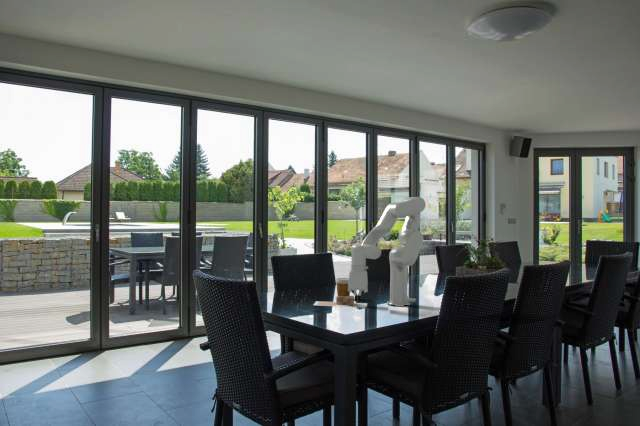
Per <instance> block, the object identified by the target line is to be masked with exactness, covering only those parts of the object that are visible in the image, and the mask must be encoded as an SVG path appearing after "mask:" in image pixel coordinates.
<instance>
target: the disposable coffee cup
mask: <svg viewBox="0 0 640 426" xmlns="http://www.w3.org/2000/svg"><path fill="white" fill-rule="evenodd" d="M348 282H349V277H347V278H346V277H339V278H336V280H335V283H336V292H337V293H336V294H337V296H345V297H348V296H351V295H350V294H351V292H349V291H348Z"/></svg>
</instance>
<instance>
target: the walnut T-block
mask: <svg viewBox="0 0 640 426" xmlns="http://www.w3.org/2000/svg"><path fill="white" fill-rule="evenodd" d="M335 300H336V301H335V302H336V305H347V306H353V305H354V303H355V295H350V296H348V297H345V296H338V295H337V296H336V299H335Z"/></svg>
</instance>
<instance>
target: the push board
mask: <svg viewBox="0 0 640 426" xmlns="http://www.w3.org/2000/svg"><path fill="white" fill-rule="evenodd" d="M313 306H318V307H319V306H321V307H322V306H323V307H341V308H342V307H344V308H345V307H348V308H367V307H368V303H367V302H366V303H365V302H364V303H362V302H359V303H358V302H357V303H356V302H354V305H353V306H347V305H336V301H317V300H315V302H314V303H313Z"/></svg>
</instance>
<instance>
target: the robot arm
mask: <svg viewBox="0 0 640 426" xmlns="http://www.w3.org/2000/svg"><path fill="white" fill-rule="evenodd" d="M425 208H426V201H425V199H424V198H423V197H420V196H410V197H409V196H407V197H405V198H403V199H402V200H401V201H400V202H390V203H389V204H387V205H386V207H385V209H384V210H383V212H382V215H381V216H380V218H379V219H378V222H377V223H376V225H375V226H374V227H373V228H372V229H371V230H370V231H369V232H368V234H366V236H365V238H364V239H363V242H362V243H361V244H353V245H352V246H351V263H350V265H351V267H350V268H351V269H350V270H349V274H348V278H349V282H348V291H349V292H350V293H352V294H353V296H354V302H355V303H360V302H361V297H362V295H363V294H364V293H368V292H369V291H368V290H369V288H368V285H369V282H368V281H369V280H368V278H369V277H368V272H367V270H368V269H369V266H368V265H366V262H367V261H366V260H367V259H371V260H376V259H378V258H380V257H381V255H382V249H381V248H380V247H379V245H377V244H378V242H379V241H380V240H381V239H382V238H385V237H387V236H389V234H390V233H391V232H392V230H393V228H394V227H395V224H396V223H397V221H398V219H404V222H403V225H402V227H401V229H400V232H399V234H398V238H397V239H398V243H399V244H400V245H401V246H403V247H401V246H395V247H393V248H392V249H391V250H390V251H389V254H388V259H389V266H390V267H389V268H390V273H389V274H390V278H389V280H390V282H389V300H387V301H386V303H387V305H388V304H389V305H388V306H391V305H395V306H394V307H405V306H404V305H409V306H410V305H411V303H416V302H417V298H413V297H409V296H408V287H409V286H408V285H409V283H408V282H409V277H408V276H409V270H408V269H409V268H408V267H411V266H413V265H414V264H415V263H416V261H417V260H418V257H419V254H420V253H421V250H422V246H423V244H424V235H423V233H422V232H421V231H420V230H419V228H420V225H421V217H420V216H421V215H420V213H422V212H423V211H424V210H425ZM357 290H358V293H357Z"/></svg>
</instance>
